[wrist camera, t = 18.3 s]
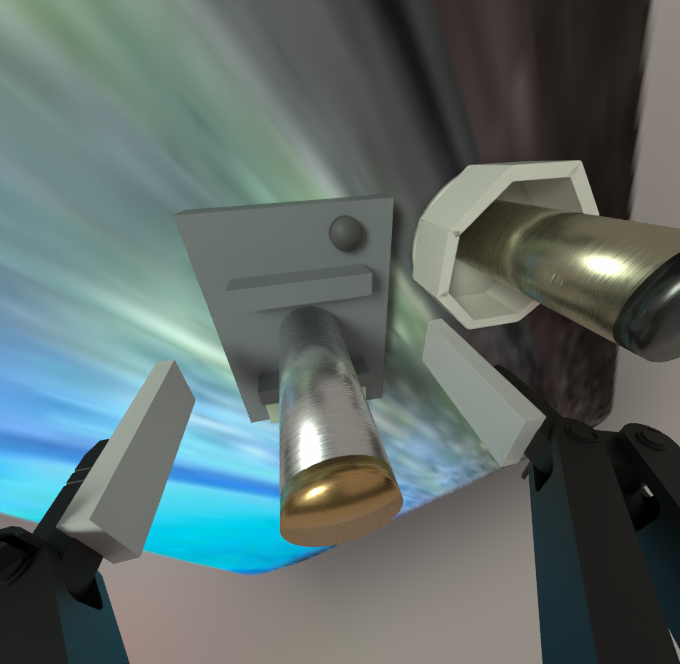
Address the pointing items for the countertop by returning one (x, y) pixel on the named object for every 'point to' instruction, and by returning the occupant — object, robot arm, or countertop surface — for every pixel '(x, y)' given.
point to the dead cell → (585, 270)
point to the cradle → (293, 282)
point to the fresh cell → (327, 439)
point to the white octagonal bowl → (463, 208)
